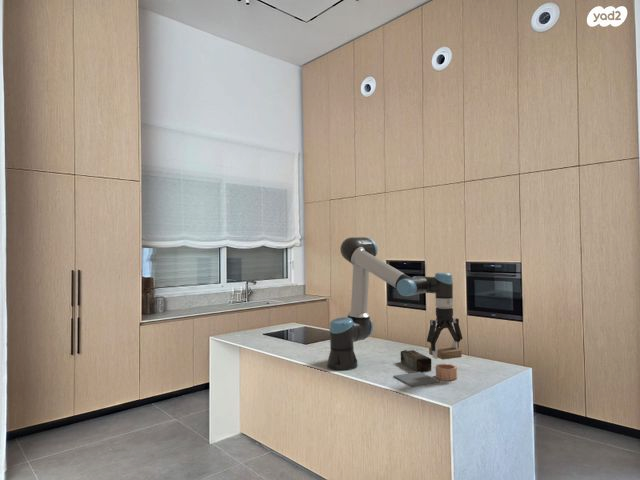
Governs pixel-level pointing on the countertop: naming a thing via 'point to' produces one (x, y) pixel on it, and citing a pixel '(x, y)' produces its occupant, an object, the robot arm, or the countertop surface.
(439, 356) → the lid
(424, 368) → the beverage carton
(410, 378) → the mat
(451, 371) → the pot
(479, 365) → the countertop surface
